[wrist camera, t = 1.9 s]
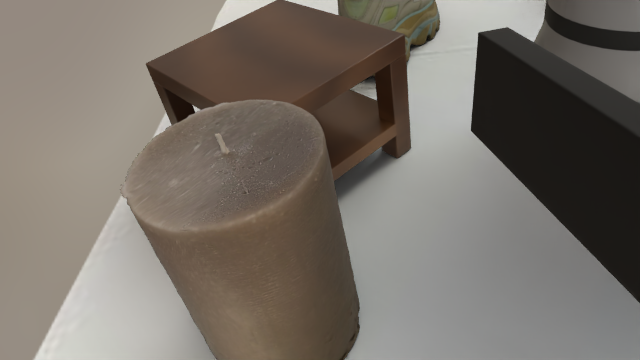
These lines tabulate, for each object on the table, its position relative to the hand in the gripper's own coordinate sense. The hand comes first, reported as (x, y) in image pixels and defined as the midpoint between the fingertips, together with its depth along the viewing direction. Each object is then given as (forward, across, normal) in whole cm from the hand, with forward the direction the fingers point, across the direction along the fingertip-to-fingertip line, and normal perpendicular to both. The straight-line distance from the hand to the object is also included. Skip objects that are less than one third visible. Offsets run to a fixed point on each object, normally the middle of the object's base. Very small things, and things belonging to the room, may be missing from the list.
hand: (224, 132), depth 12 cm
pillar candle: (+11, 0, -20) cm, 23 cm away
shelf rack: (+27, +4, -18) cm, 33 cm away
